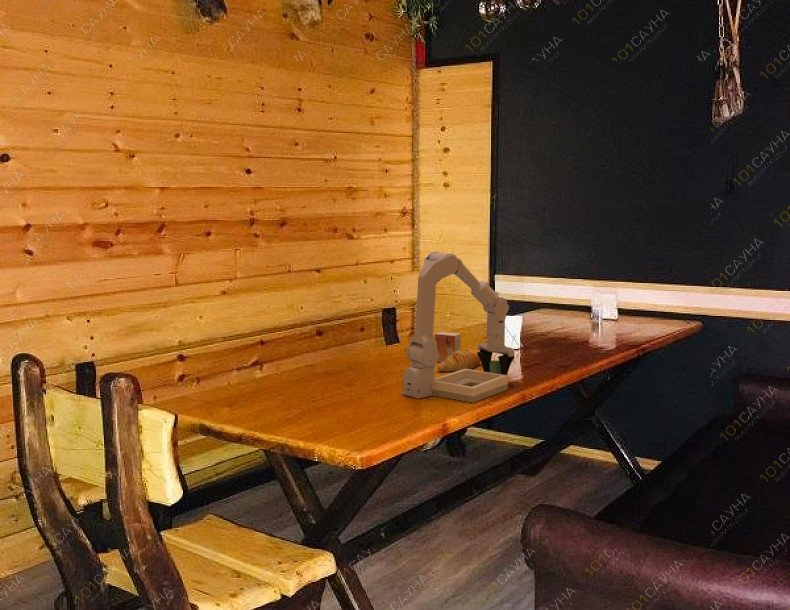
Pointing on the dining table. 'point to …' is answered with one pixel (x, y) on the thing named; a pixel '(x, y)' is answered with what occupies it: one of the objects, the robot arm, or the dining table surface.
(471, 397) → the bore tray
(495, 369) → the peg
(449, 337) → the small box
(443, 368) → the croissant
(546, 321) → the dining table surface
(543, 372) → the dining table surface
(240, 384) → the dining table surface
